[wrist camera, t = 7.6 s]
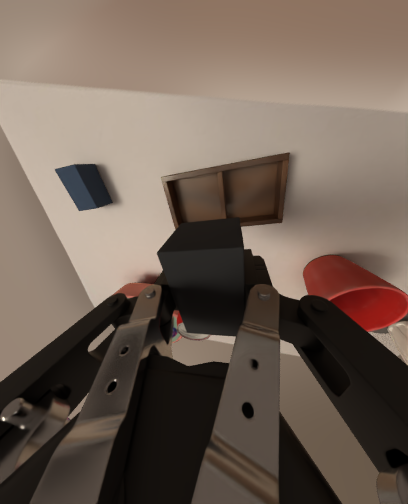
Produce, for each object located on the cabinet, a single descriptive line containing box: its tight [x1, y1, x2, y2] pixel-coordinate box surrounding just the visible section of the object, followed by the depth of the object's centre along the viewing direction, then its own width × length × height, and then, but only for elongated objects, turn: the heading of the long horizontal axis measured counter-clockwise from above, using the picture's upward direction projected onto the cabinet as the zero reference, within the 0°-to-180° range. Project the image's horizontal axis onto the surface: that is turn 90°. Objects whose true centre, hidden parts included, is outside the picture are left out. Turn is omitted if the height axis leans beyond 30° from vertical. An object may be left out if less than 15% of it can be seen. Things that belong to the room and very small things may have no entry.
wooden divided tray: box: [161, 153, 290, 229], centre depth 23 cm, size 9×17×4 cm, turn 100°
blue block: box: [55, 164, 113, 211], centre depth 26 cm, size 7×4×4 cm, turn 10°
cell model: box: [113, 282, 182, 343], centre depth 36 cm, size 17×20×11 cm
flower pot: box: [303, 255, 408, 332], centre depth 25 cm, size 11×11×10 cm
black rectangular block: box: [157, 217, 246, 336], centre depth 10 cm, size 7×4×4 cm, turn 9°
